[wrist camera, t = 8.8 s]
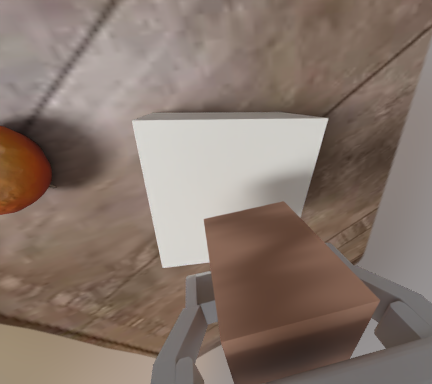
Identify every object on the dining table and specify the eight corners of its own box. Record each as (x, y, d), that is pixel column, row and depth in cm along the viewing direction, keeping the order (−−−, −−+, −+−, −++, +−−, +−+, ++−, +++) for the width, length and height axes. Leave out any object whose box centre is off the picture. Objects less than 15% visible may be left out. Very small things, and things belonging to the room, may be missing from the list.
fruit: (-3, 215, 19) (-141, 224, 11) (-2, 144, 19) (-135, 105, 12) (78, 210, 20) (5, 215, 12) (77, 144, 21) (5, 107, 13)
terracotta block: (283, 201, 11) (380, 300, 5) (281, 257, 13) (346, 363, 8) (203, 219, 10) (221, 342, 5) (216, 272, 13) (237, 394, 7)
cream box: (278, 111, 20) (328, 118, 13) (263, 212, 27) (290, 252, 20) (153, 112, 18) (131, 120, 11) (169, 220, 25) (162, 268, 18)
